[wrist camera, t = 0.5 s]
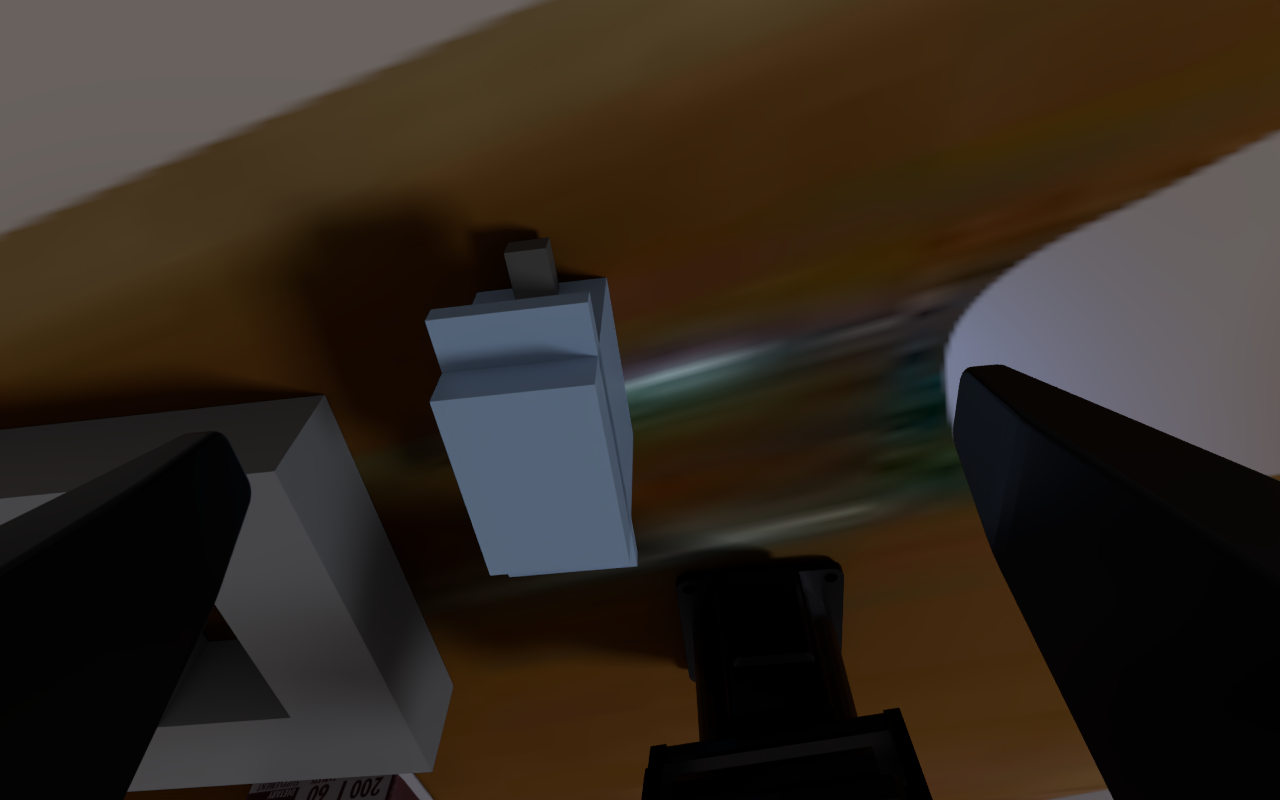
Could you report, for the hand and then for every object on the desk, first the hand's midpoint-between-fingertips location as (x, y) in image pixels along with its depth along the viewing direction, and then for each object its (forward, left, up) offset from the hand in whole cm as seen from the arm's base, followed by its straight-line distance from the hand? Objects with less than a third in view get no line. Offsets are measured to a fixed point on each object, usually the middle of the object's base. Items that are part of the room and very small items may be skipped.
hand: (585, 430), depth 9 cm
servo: (-7, +3, -13) cm, 15 cm away
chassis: (-15, +18, -13) cm, 27 cm away
